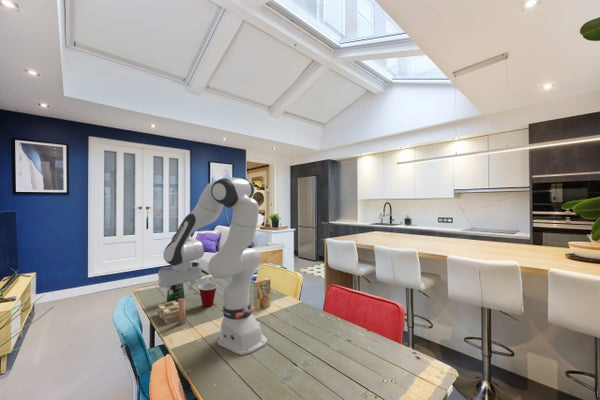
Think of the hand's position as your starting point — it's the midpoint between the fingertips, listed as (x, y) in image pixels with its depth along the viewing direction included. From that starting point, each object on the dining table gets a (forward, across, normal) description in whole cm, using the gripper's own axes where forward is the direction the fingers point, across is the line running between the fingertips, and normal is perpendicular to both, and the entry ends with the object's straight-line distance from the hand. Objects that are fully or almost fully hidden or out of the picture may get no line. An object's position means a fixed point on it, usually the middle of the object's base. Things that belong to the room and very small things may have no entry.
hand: (180, 291), depth 129 cm
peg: (+16, 0, -1) cm, 16 cm away
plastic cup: (+16, +19, +11) cm, 27 cm away
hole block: (+16, -1, +12) cm, 20 cm away
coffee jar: (+17, +8, +32) cm, 37 cm away
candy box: (+16, +40, -14) cm, 45 cm away
